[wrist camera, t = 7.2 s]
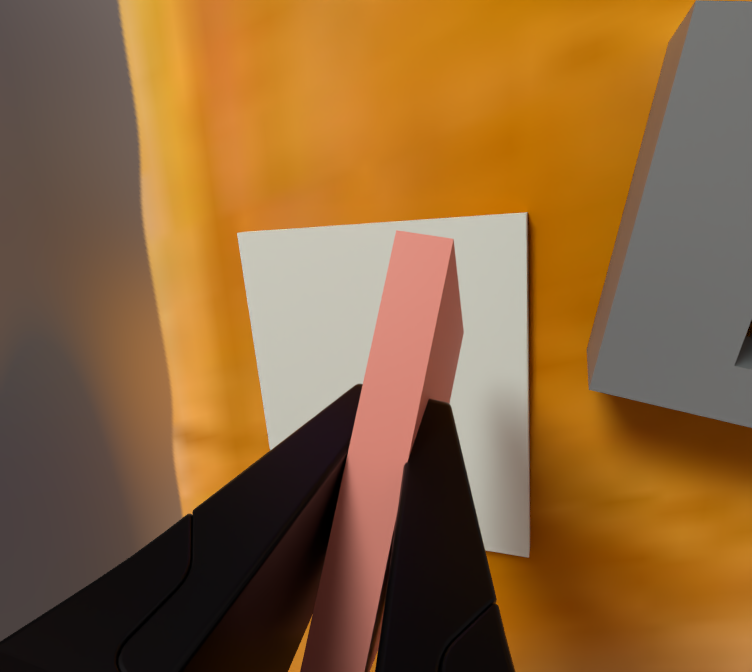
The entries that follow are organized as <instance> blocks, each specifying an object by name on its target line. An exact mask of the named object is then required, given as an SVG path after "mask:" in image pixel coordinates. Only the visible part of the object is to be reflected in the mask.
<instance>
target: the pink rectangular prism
mask: <svg viewBox="0 0 752 672" xmlns="http://www.w3.org/2000/svg"><path fill="white" fill-rule="evenodd" d="M463 334H464V329H463V320H462V311H461V302H460V293H459V284H458V275H457V266H456V257H455V248H454V239H451V238H445V237H438V236H432V235H425V234H418V233H412V232H405V231H398V230H396V234H395V238H394V243H393V247H392V252H391V257H390V261H389V266H388V271H387V275H386V280H385V284H384V289H383V294H382V298H381V303H380V307H379V312H378V317H377V321H376V326H375V330H374V335H373V340H372V344H371V349H370V353H369V358H368V363H367V367H366V372H365V376H364V381H363V386H362V390H361V395H360V399H359V404H358V409H357V413H356V418H355V422H354V427H353V432H352V436H351V441H350V445H349V450H348V455H347V459H346V464H345V468H344V473H343V478H342V482H341V487H340V491H339V496H338V501H337V505H336V510H335V514H334V519H333V524H332V528H331V533H330V537H329V542H328V547H327V551H326V556H325V560H324V565H323V570H322V574H321V579H320V583H319V588H318V593H317V597H316V602H315V607H314V611H313V616H312V620H311V625H310V630H309V634H308V639H307V643H306V648H305V653H304V657H303V662H302V666H301V671H300V672H370V669H371V666H372V664H373V661H374V659H375V656H376V653H377V651H378V648H379V641H380V634H381V626H382V619H383V612H384V605H385V598H386V590H387V583H388V576H389V569H390V561H391V554H392V547H393V540H394V532H395V525H396V518H397V511H398V503H399V496H400V489H401V482H402V475H403V467H404V465H405V463H406V462H408V459H409V456H410V453H411V450H412V447H413V444H414V441H415V438H416V435H417V432H418V429H419V426H420V423H421V420H422V417H423V414H424V411H425V408H426V406H427V403H428V400H429V399H434V400H439V401H443V402H447V403H449V404H450V399H451V394H452V389H453V384H454V379H455V374H456V369H457V364H458V359H459V354H460V349H461V344H462V339H463Z"/></svg>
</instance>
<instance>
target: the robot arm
mask: <svg viewBox="0 0 752 672" xmlns="http://www.w3.org/2000/svg"><path fill="white" fill-rule="evenodd" d="M362 386H363V384H356V385H354V386H353V387H352V388H351V389H349V390H348V391H347V392H345V393H344V394H343V395H341V396H340V397H339V398H338V399H336V400H335V401H334V402H332V403H331V404H330V405H329V406H327V407H326V408H325V409H323V410H322V411H321V412H319V413H318V414H317V415H316V416H314V417H313V418H312V419H310V420H309V421H308V422H307V423H305V424H304V425H303V426H301V427H300V428H299V429H297V430H296V431H295V432H294V433H292V434H291V435H290V436H288V437H287V438H286V439H285V440H283V441H282V442H281V443H279V444H278V445H277V446H275V447H274V448H273V449H272V450H270V451H269V452H268V453H266V454H265V455H264V456H263V457H261V458H260V459H259V460H257V461H256V462H255V463H253V464H252V465H251V466H250V467H248V468H247V469H246V470H244V471H243V472H242V473H241V474H239V475H238V476H237V477H235V478H234V479H233V480H231V481H230V482H229V483H228V484H226V485H225V486H224V487H222V488H221V489H220V490H219V491H217V492H216V493H215V494H213V495H212V496H211V497H209V498H208V499H207V500H206V501H204V502H203V503H202V504H200V505H199V506H198V507H197V508H195V509H194V510H193V515H192V514H187V515H186V516H185V517H183V518H182V519H181V520H179V521H178V522H177V523H176V524H174V525H173V526H172V527H170V528H169V529H168V530H167V531H165V532H164V533H162V534H161V535H160V536H158V537H157V538H156V539H154V540H153V541H151V542H150V543H149V544H148V545H146V546H145V547H143V548H142V549H141V550H139V551H138V552H137V553H135V554H134V555H132V556H131V557H130V558H128V559H127V560H125V561H124V562H122V563H121V564H119V565H118V566H116V567H115V568H113V569H112V570H110V571H109V572H107V573H106V574H104V575H103V576H102V577H100V578H98V579H97V580H95V581H94V582H92V583H91V584H89V585H88V586H86V587H85V588H83V589H81V590H80V591H78V592H77V593H75V594H74V595H72V596H70V597H69V598H67V599H66V600H64V601H63V602H61V603H60V604H58V605H56V606H55V607H53V608H52V609H50V610H49V611H47V612H46V613H44V614H42V615H41V616H39V617H38V618H36V619H35V620H33V621H32V622H30V623H28V624H27V625H25V626H24V627H22V628H21V629H19V630H18V631H16V632H14V633H13V634H11V635H10V636H8V637H7V638H5V639H3V640H2V641H0V672H288V670H289V668H290V665H291V663H292V661H293V658H294V656H295V654H296V651H297V649H298V647H299V644H300V642H301V640H302V637H303V635H304V633H305V631H306V628H307V626H308V624H309V621H310V619H311V617H312V614H313V611H314V607H315V602H316V597H317V593H318V588H319V583H320V579H321V574H322V570H323V565H324V560H325V556H326V551H327V547H328V542H329V537H330V533H331V528H332V524H333V519H334V514H335V510H336V505H337V501H338V496H339V491H340V487H341V482H342V478H343V473H344V468H345V464H346V459H347V455H348V450H349V445H350V441H351V436H352V432H353V427H354V422H355V418H356V413H357V409H358V404H359V399H360V395H361V390H362ZM495 603H496V595H495V590H494V586H493V582H492V578H491V573H490V569H489V565H488V561H487V556H486V552H485V548H484V544H483V539H482V535H481V531H480V526H479V522H478V518H477V514H476V509H475V505H474V501H473V497H472V492H471V488H470V484H469V480H468V475H467V471H466V467H465V463H464V458H463V454H462V450H461V446H460V441H459V437H458V433H457V429H456V424H455V420H454V416H453V412H452V408H451V405H450V404H449V403H447V402H443V401H439V400H434V399H429V400H428V403H427V406H426V408H425V411H424V414H423V417H422V420H421V423H420V426H419V429H418V432H417V435H416V438H415V441H414V444H413V447H412V450H411V453H410V456H409V459H408V462H406V463H405V465H404V467H403V475H402V482H401V489H400V496H399V503H398V511H397V518H396V525H395V532H394V540H393V547H392V554H391V561H390V569H389V576H388V583H387V590H386V598H385V605H384V612H383V619H382V626H381V634H380V641H379V648H378V655H377V663H376V670H375V672H515V669H514V665H513V662H512V658H511V654H510V651H509V647H508V643H507V639H506V636H505V631H504V627H503V623H502V619H501V614H500V610H499V607H498V605H497V604H495Z"/></svg>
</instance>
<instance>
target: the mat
mask: <svg viewBox="0 0 752 672" xmlns="http://www.w3.org/2000/svg"><path fill="white" fill-rule="evenodd" d="M396 230H398V231H405V232H412V233H418V234H425V235H432V236H438V237H445V238H451V239H454V248H455V257H456V266H457V275H458V284H459V293H460V302H461V311H462V320H463V329H464V334H463V339H462V344H461V349H460V354H459V359H458V364H457V369H456V374H455V379H454V384H453V389H452V394H451V399H450V405H451V408H452V412H453V416H454V420H455V424H456V429H457V433H458V437H459V441H460V446H461V450H462V454H463V458H464V463H465V467H466V471H467V475H468V480H469V484H470V488H471V492H472V497H473V501H474V505H475V509H476V514H477V518H478V522H479V526H480V531H481V535H482V539H483V544H484V548H485V550H486V551H492V552H498V553H504V554H510V555H516V556H522V557H528V558H529V553H530V451H529V307H528V212H525V213H511V214H496V215H482V216H467V217H453V218H438V219H424V220H409V221H395V222H380V223H366V224H351V225H337V226H322V227H308V228H293V229H279V230H264V231H250V232H241V233H237V236H238V242H239V249H240V255H241V262H242V268H243V275H244V282H245V288H246V295H247V301H248V308H249V314H250V321H251V327H252V334H253V340H254V347H255V354H256V360H257V367H258V373H259V380H260V386H261V393H262V399H263V406H264V412H265V419H266V425H267V432H268V439H269V445H270V450H272V449H273V448H274V447H275V446H277V445H278V444H279V443H281V442H282V441H283V440H285V439H286V438H287V437H288V436H290V435H291V434H292V433H294V432H295V431H296V430H297V429H299V428H300V427H301V426H303V425H304V424H305V423H307V422H308V421H309V420H310V419H312V418H313V417H314V416H316V415H317V414H318V413H319V412H321V411H322V410H323V409H325V408H326V407H327V406H329V405H330V404H331V403H332V402H334V401H335V400H336V399H338V398H339V397H340V396H341V395H343V394H344V393H345V392H347V391H348V390H349V389H351V388H352V387H353V386H354V385H356V384H363V381H364V376H365V372H366V367H367V363H368V358H369V353H370V349H371V344H372V340H373V335H374V330H375V326H376V321H377V317H378V312H379V307H380V303H381V298H382V294H383V289H384V284H385V280H386V275H387V271H388V266H389V261H390V257H391V252H392V247H393V243H394V238H395V234H396Z"/></svg>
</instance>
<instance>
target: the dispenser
mask: <svg viewBox="0 0 752 672" xmlns="http://www.w3.org/2000/svg"><path fill="white" fill-rule="evenodd" d="M751 320H752V2H750V1H695V3H694V5H693V6H692V8H691V9H690V11H689V12H688V14H687V15H686V17H685V18H684V20H683V21H682V23H681V24H680V26H679V27H678V29H677V30H676V32H675V34H674V35H673V37H672V38H671V40H670V41H669V43H668V47H667V51H666V54H665V58H664V62H663V66H662V69H661V73H660V77H659V81H658V84H657V88H656V92H655V96H654V99H653V103H652V107H651V111H650V114H649V118H648V122H647V126H646V129H645V133H644V137H643V141H642V144H641V148H640V152H639V156H638V159H637V163H636V167H635V171H634V174H633V178H632V182H631V186H630V190H629V193H628V197H627V201H626V205H625V208H624V212H623V216H622V220H621V223H620V227H619V231H618V235H617V238H616V242H615V246H614V250H613V253H612V257H611V261H610V265H609V268H608V272H607V276H606V280H605V283H604V287H603V291H602V295H601V298H600V302H599V306H598V310H597V313H596V317H595V321H594V325H593V328H592V332H591V336H590V340H589V343H588V347H587V362H588V382H589V390H593V391H597V392H601V393H606V394H610V395H614V396H618V397H623V398H627V399H631V400H635V401H640V402H644V403H648V404H652V405H657V406H661V407H665V408H669V409H674V410H678V411H682V412H686V413H691V414H695V415H699V416H703V417H708V418H712V419H716V420H720V421H725V422H729V423H733V424H737V425H742V426H746V427H750V428H752V331H751V334H750V336H746V333H747V331H748V328H749V325H750V322H751Z"/></svg>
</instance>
